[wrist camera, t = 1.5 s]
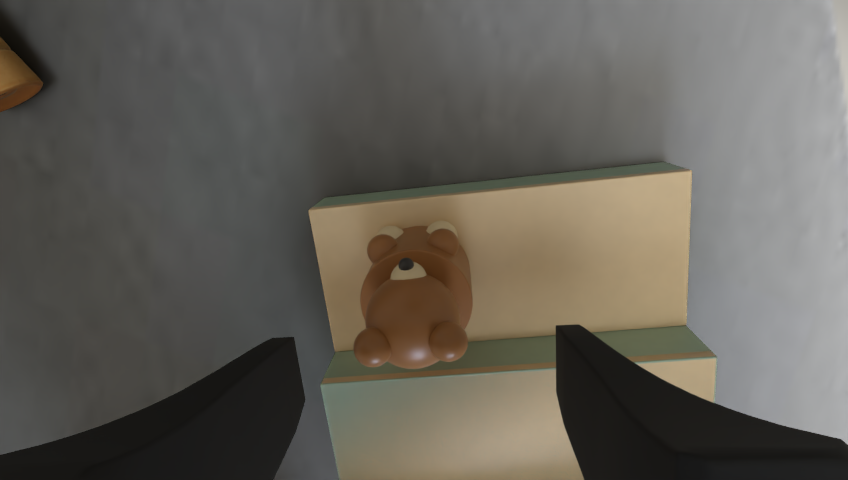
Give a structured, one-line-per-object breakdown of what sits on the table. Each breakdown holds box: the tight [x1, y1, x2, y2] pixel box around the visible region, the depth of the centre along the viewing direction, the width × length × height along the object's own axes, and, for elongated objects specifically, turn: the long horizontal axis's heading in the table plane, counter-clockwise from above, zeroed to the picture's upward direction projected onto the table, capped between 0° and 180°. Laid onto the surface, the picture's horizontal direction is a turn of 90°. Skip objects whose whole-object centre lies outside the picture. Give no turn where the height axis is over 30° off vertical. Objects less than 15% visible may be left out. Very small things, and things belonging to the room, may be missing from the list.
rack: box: [309, 162, 717, 480], centre depth 20 cm, size 15×14×6 cm
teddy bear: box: [353, 221, 473, 369], centre depth 17 cm, size 4×4×6 cm
